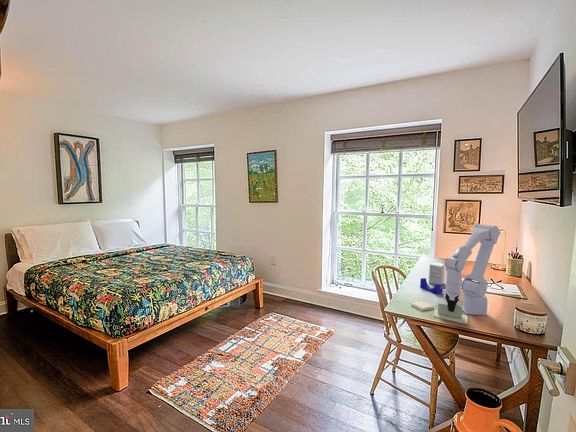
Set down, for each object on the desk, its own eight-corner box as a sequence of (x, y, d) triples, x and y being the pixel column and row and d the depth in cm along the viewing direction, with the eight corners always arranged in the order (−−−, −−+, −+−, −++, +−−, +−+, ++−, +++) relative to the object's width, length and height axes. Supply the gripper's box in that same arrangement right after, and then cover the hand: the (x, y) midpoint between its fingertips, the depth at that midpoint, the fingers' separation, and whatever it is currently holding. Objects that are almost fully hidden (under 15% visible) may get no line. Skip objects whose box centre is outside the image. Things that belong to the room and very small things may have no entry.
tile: (422, 301, 155) (411, 303, 152) (433, 306, 149) (422, 308, 146) (422, 304, 155) (411, 306, 152) (433, 309, 149) (421, 311, 146)
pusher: (461, 315, 139) (462, 305, 138) (461, 318, 136) (462, 308, 135) (438, 311, 144) (438, 301, 143) (437, 313, 141) (438, 303, 140)
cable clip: (442, 293, 170) (442, 283, 170) (436, 294, 168) (437, 284, 168) (425, 286, 181) (426, 277, 181) (420, 287, 180) (420, 278, 179)
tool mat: (467, 316, 140) (467, 315, 140) (467, 324, 132) (468, 323, 132) (434, 309, 147) (434, 309, 147) (433, 316, 139) (433, 315, 139)
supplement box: (431, 280, 193) (432, 261, 191) (443, 283, 188) (445, 264, 187) (428, 283, 187) (429, 264, 186) (440, 286, 182) (442, 266, 181)
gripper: (444, 276, 146) (442, 302, 148) (442, 285, 134) (440, 313, 135) (460, 279, 143) (458, 305, 144) (460, 288, 130) (458, 317, 132)
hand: (451, 309), depth 139 cm, fingers closed on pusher, 3 cm apart
